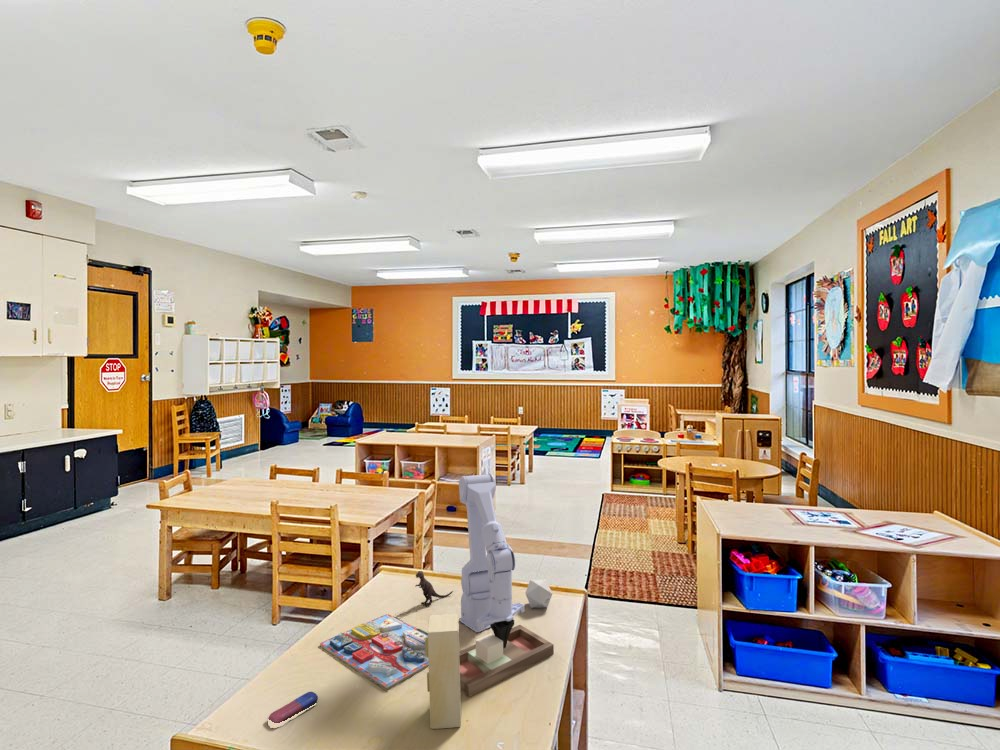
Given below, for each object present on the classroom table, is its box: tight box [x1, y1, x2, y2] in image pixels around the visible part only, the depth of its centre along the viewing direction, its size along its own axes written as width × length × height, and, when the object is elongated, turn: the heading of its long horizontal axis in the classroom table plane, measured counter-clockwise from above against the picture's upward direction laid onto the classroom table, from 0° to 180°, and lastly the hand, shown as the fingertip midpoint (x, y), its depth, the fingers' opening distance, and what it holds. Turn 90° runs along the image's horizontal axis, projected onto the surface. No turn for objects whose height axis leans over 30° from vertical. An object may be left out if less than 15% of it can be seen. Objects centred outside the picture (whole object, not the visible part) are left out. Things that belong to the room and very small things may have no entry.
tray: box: [459, 624, 555, 698], centre depth 136 cm, size 14×28×2 cm, turn 129°
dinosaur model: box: [415, 570, 454, 608], centre depth 170 cm, size 4×11×14 cm
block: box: [475, 632, 503, 664], centre depth 135 cm, size 5×5×4 cm
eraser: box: [267, 691, 319, 723], centre depth 118 cm, size 11×4×2 cm, turn 141°
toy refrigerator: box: [425, 613, 462, 730], centre depth 116 cm, size 8×7×21 cm
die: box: [524, 578, 553, 609], centre depth 167 cm, size 8×9×10 cm
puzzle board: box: [319, 613, 429, 691], centre depth 144 cm, size 30×23×3 cm
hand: (501, 646), depth 137 cm, fingers closed
